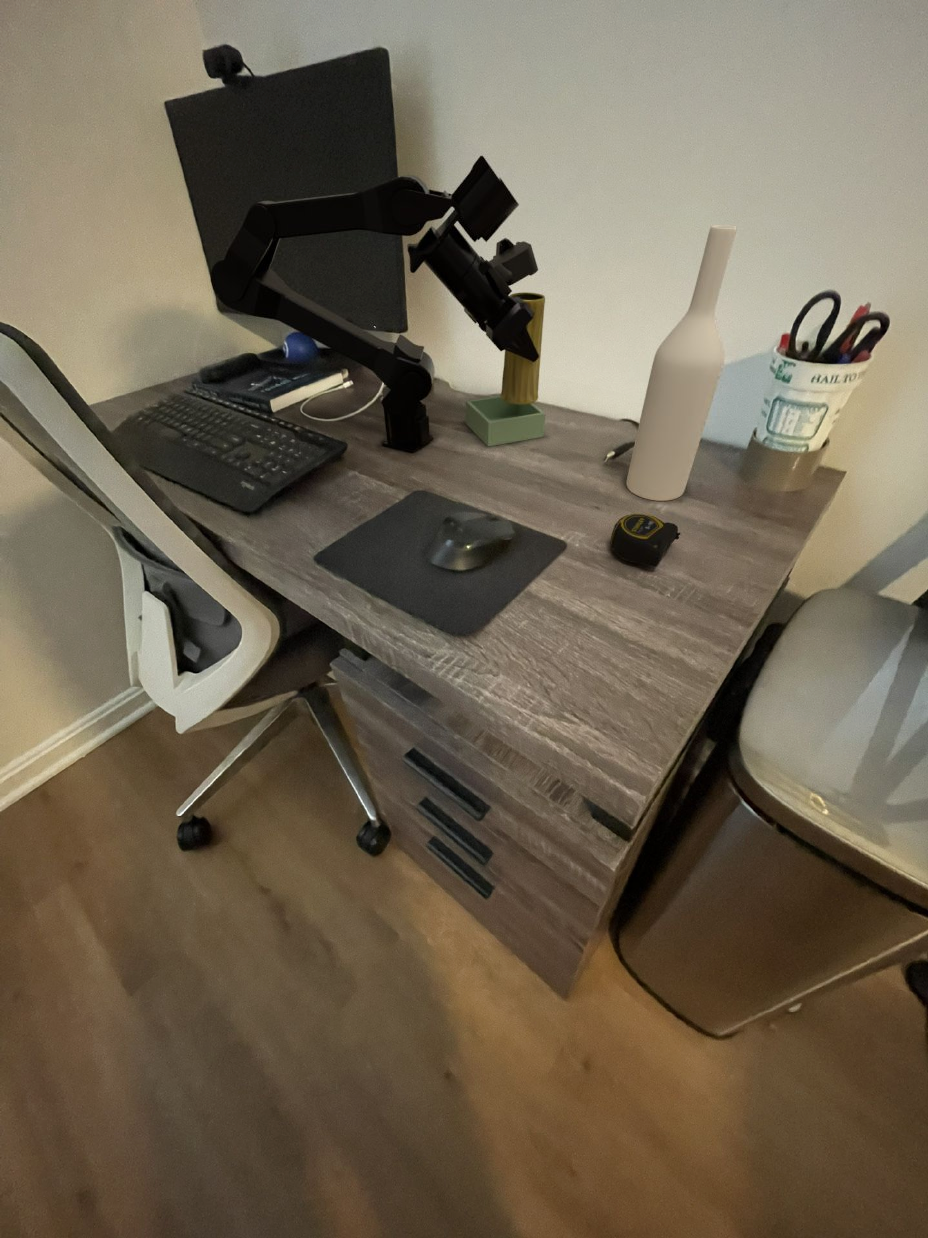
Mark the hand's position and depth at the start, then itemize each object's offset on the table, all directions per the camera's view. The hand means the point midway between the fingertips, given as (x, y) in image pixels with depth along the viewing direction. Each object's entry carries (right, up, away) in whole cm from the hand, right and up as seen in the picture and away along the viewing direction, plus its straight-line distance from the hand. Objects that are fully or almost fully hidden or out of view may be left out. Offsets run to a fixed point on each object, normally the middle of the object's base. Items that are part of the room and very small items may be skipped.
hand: (531, 353), depth 79 cm
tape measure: (+11, -33, -17) cm, 39 cm away
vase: (-1, -5, +4) cm, 7 cm away
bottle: (+17, -22, -5) cm, 28 cm away
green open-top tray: (-3, -8, +10) cm, 13 cm away
